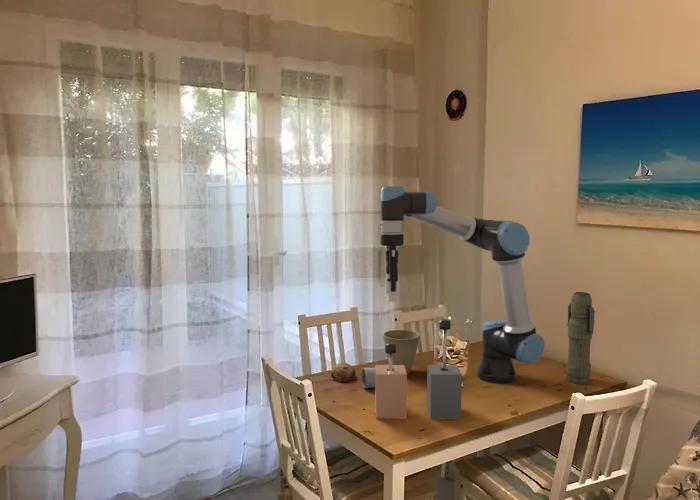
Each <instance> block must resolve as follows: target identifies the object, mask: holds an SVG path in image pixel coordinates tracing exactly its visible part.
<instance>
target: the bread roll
mask: <svg viewBox="0 0 700 500" xmlns="http://www.w3.org/2000/svg"><path fill="white" fill-rule="evenodd" d="M356 376H357V375H356V369H355V367H353V366H352V365H351V364H349V363H348V362H339V363H336V364H334V365H333V366H332V367H331V370H330V378H331V380H332V381H335V382H340V383H347V382H351V381H353V380H355V377H356Z"/></svg>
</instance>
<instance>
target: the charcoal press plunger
mask: <svg viewBox="0 0 700 500" xmlns="http://www.w3.org/2000/svg"><path fill="white" fill-rule="evenodd" d="M451 322H452V321H451V319H448V318H447V319H446V318H442V319H439V330H442V364H441V365H442V371H446V365H447V345H448V344H447V339H448V338H447V333H448V332H447V331H449V330H451V326H452V325H451Z"/></svg>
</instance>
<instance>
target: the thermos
mask: <svg viewBox="0 0 700 500" xmlns="http://www.w3.org/2000/svg"><path fill="white" fill-rule="evenodd" d="M594 328H595V308H594V307H593V300H592V297H591V294H590V293H588V292H585V291H584V292H583V291H576V292H574V293H573V294H572V296H571V300H570V303H569V304H568V306H567V329H568V330H567V337H568V350H567V351H568V353H567V354H568V355H567V356H568V357H567V358H568V359H567V361H566V364H565V365H566V366H565V367H566V368H565V372H566V373H565V374H566V378H565V379H566V381H567V382H568V383H571V384H576V385H587V384H589V383H590V378H591V368H592V364H591V362H590V359H591V358H590V357H591V355H590V354H591V341H592V338H593V334H594Z"/></svg>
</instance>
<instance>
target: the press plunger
mask: <svg viewBox="0 0 700 500" xmlns="http://www.w3.org/2000/svg"><path fill="white" fill-rule="evenodd" d="M384 349H385V354H386V353H389V362H388V365H389V371H392V354H393V353H396V343H391V342H390V343H386V344H385V346H384Z"/></svg>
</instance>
